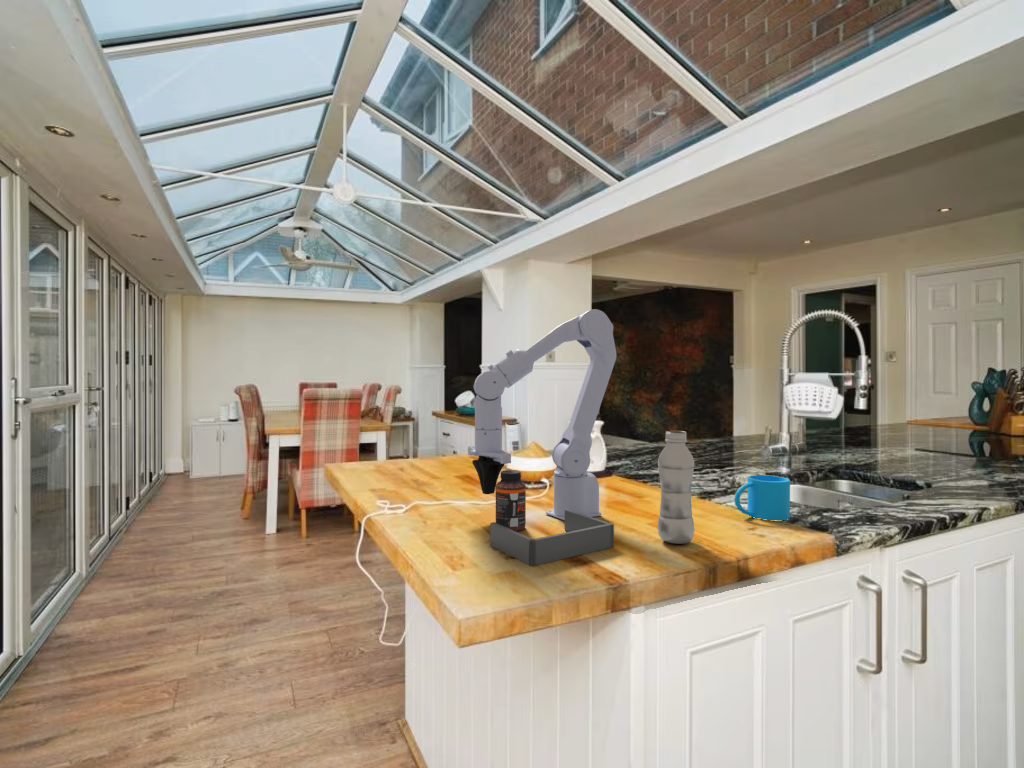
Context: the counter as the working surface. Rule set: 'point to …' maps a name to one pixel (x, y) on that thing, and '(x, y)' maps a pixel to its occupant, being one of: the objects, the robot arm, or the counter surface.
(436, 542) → the counter surface
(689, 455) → the plastic bottle
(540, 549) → the box
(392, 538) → the counter surface
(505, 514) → the supplement bottle
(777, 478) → the mug
